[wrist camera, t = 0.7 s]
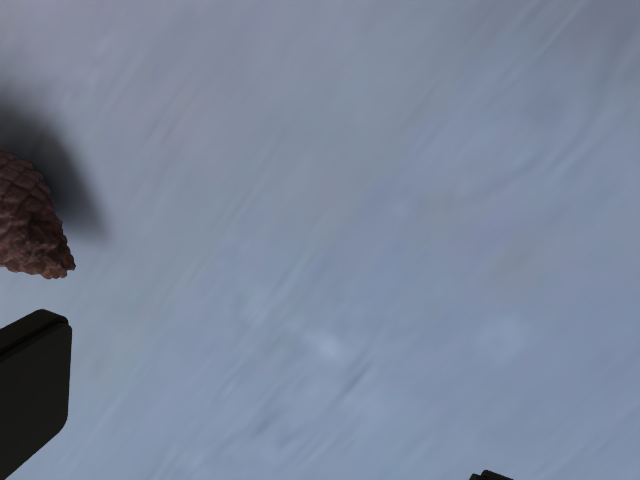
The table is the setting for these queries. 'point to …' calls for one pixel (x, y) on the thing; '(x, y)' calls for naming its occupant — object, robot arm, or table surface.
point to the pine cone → (30, 223)
